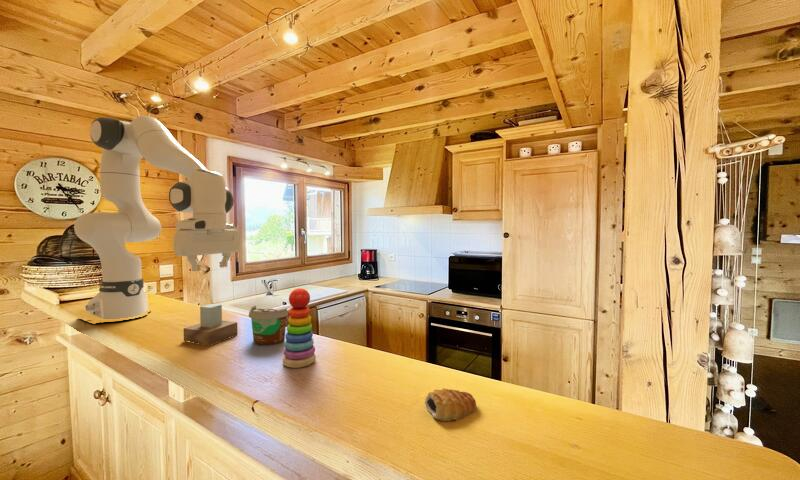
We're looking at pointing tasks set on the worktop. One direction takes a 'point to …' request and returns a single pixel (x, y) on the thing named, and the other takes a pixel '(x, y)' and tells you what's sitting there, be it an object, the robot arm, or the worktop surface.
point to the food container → (268, 325)
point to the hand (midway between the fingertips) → (210, 269)
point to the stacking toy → (299, 332)
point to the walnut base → (210, 333)
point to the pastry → (449, 404)
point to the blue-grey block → (210, 315)
